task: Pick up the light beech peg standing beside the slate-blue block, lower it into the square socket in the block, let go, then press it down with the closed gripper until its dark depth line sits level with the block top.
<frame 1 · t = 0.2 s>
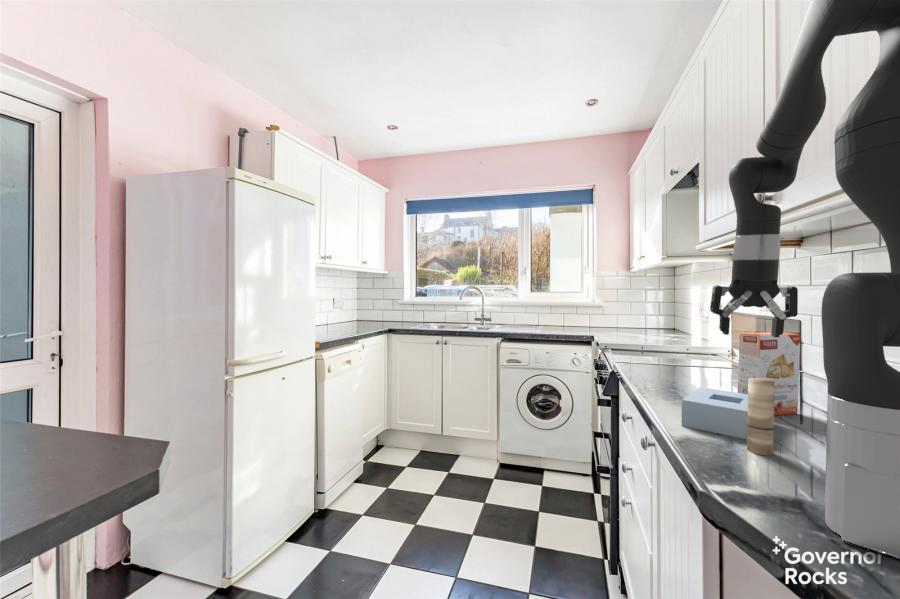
hand: (750, 335, 81), 22 cm above the counter, tool pointing down, fingers open, 8 cm apart
peg: (759, 451, 76), on the counter
socket block: (725, 423, 92), on the counter
cracker box: (767, 413, 101), on the counter
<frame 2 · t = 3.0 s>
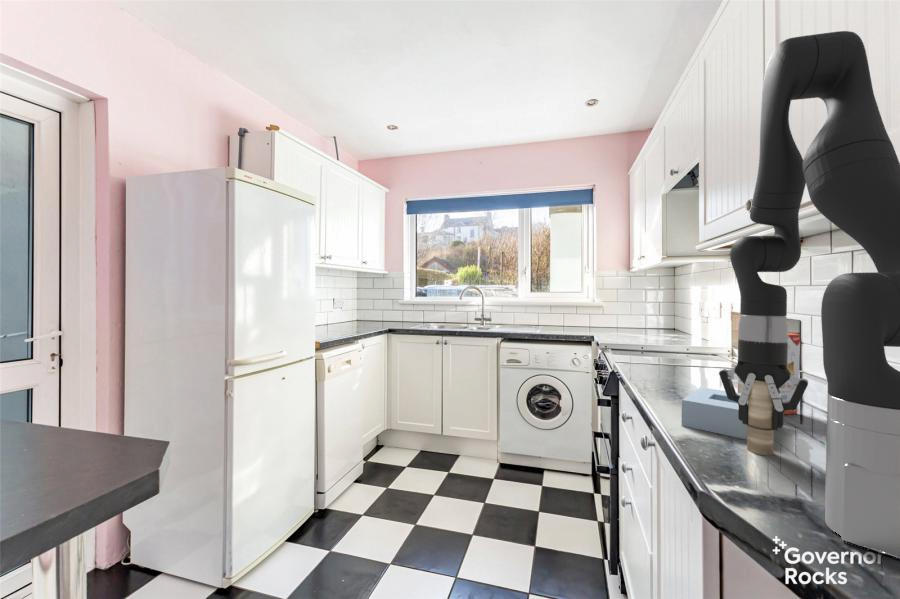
hand: (760, 426, 76), 5 cm above the counter, tool pointing down, fingers closed on peg, 4 cm apart
peg: (759, 451, 76), on the counter, touching gripper
everything else where it was.
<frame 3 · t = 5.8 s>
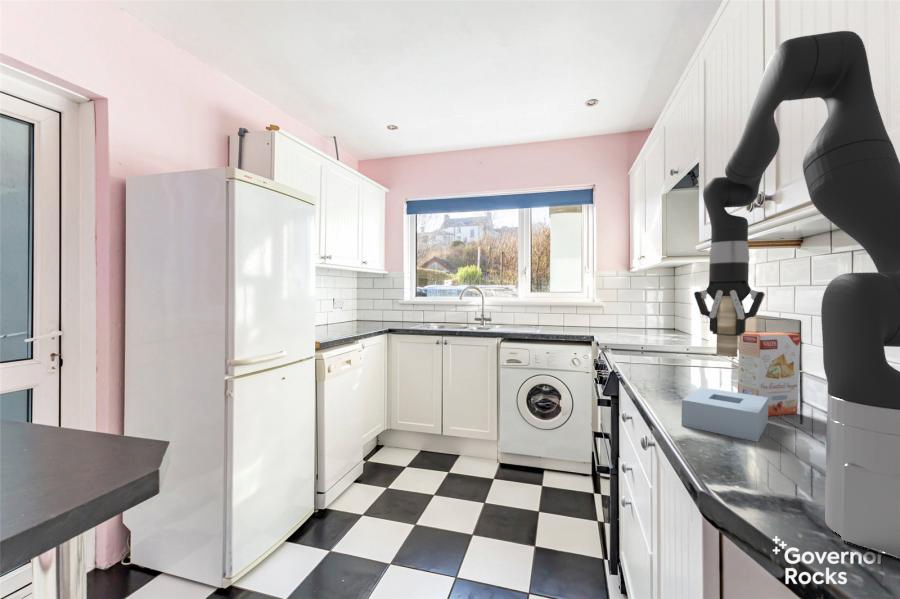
hand: (727, 334, 92), 21 cm above the counter, tool pointing down, fingers closed on peg, 4 cm apart
peg: (726, 355, 92), point 16 cm above the counter, touching gripper
everything else where it was.
when the fingers open (8 cm above the counter, at t = 8.6 s): peg drops 2 cm, resting on socket block.
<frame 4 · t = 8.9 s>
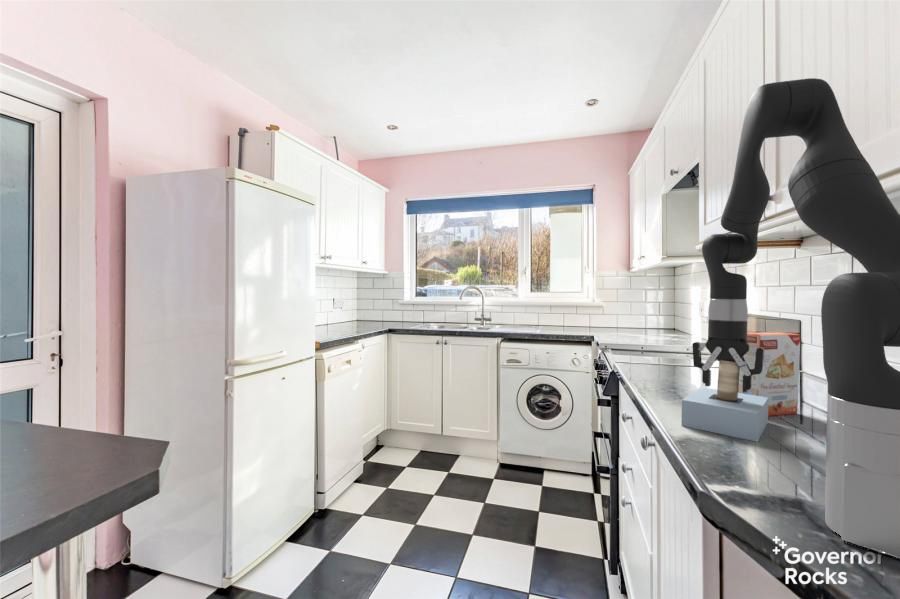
hand: (726, 388, 92), 8 cm above the counter, tool pointing down, fingers open, 6 cm apart
peg: (725, 419, 92), point 1 cm above the counter, touching socket block
everything else where it was.
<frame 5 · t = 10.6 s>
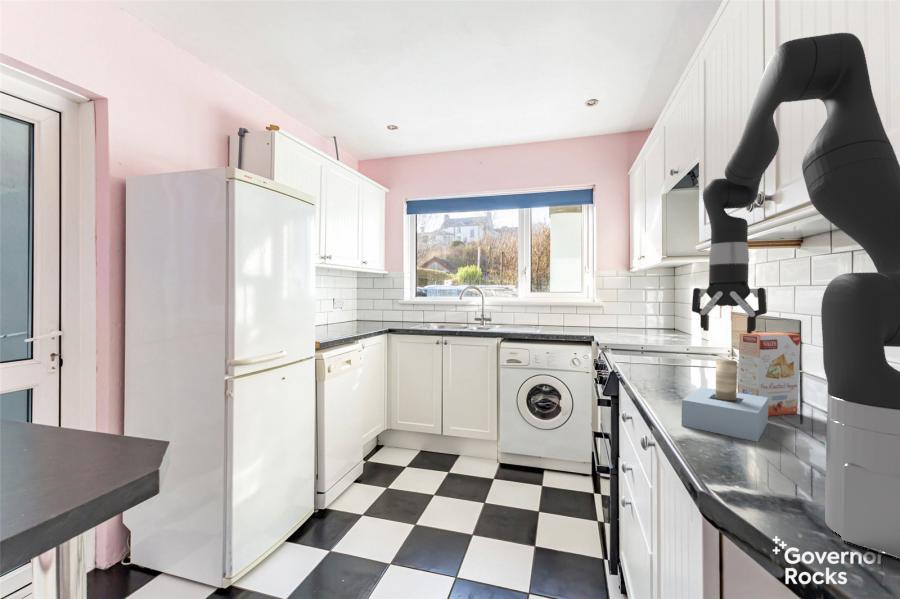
hand: (727, 331, 92), 22 cm above the counter, tool pointing down, fingers open, 8 cm apart
nothing on the counter moved.
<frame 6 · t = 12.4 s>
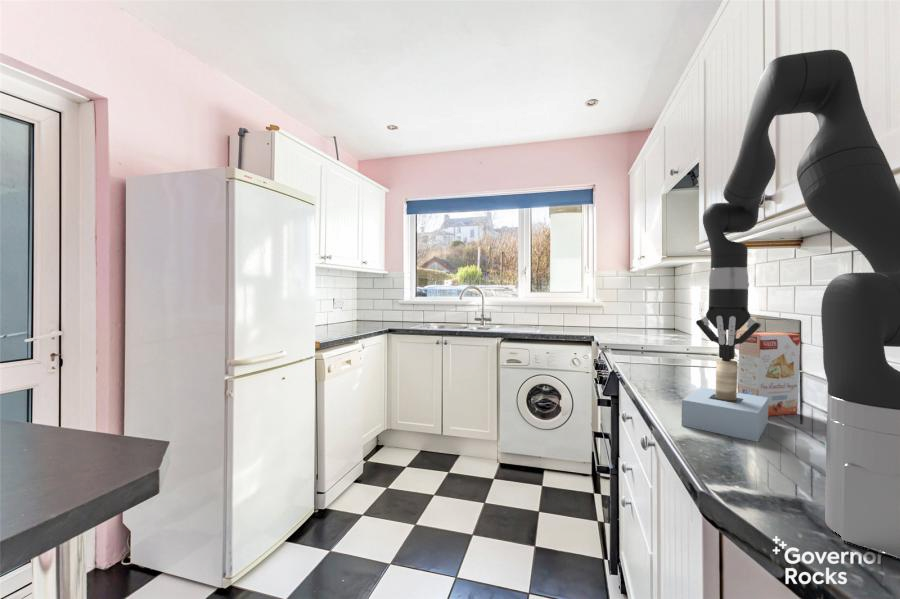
hand: (726, 360, 92), 15 cm above the counter, tool pointing down, fingers closed
peg: (725, 419, 92), point 1 cm above the counter, touching gripper, socket block
everything else where it was.
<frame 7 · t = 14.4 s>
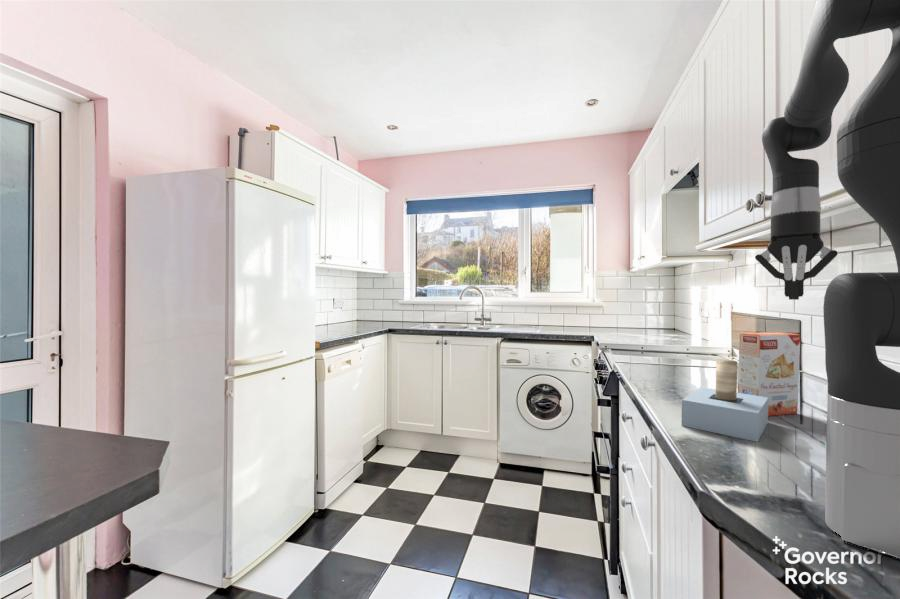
hand: (794, 299, 78), 30 cm above the counter, tool pointing down, fingers closed
peg: (725, 419, 92), point 1 cm above the counter, touching socket block
everything else where it was.
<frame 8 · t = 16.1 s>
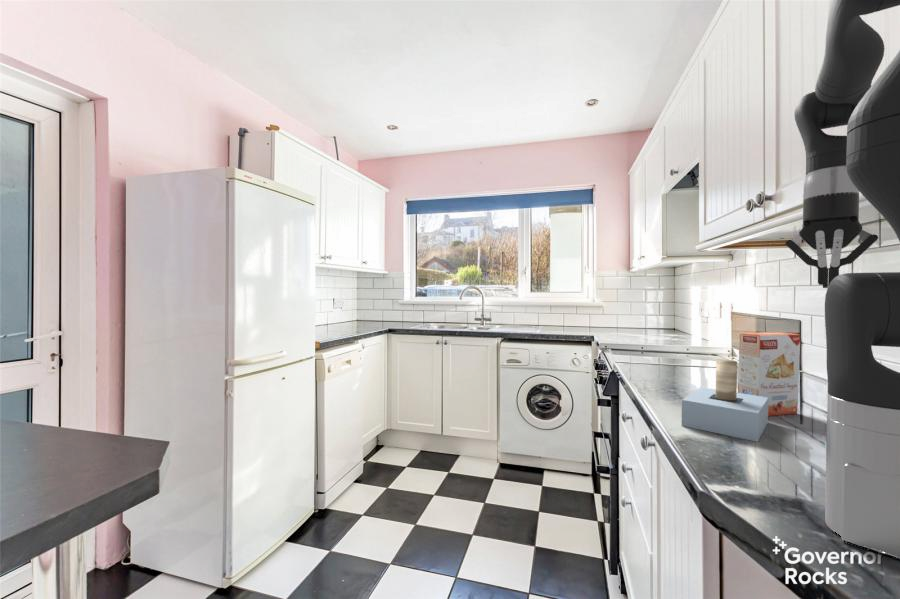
hand: (828, 287, 73), 32 cm above the counter, tool pointing down, fingers closed
nothing on the counter moved.
at the end: peg 0.0 cm off-centre on the socket block, point 1.0 cm above the socket block's base; peg tilted 0°; the gripper is holding nothing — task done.
